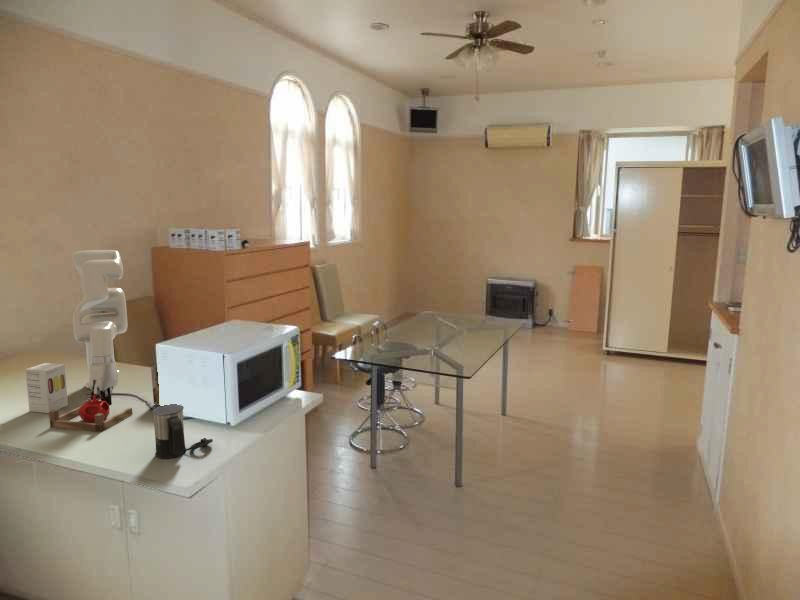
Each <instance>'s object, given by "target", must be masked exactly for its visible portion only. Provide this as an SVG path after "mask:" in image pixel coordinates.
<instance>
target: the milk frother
mask: <svg viewBox="0 0 800 600" xmlns="http://www.w3.org/2000/svg"><path fill="white" fill-rule="evenodd" d="M183 409H184V406H183V405H182V404H180V405H177V404H170V405H164V406H156V407H155V408H153V409H152V411H151V412H152V413H153V426H154V438H155V453H154V454H155V457H156V458H159V459H173V458H178V457H180V456H182V455H184V454H185V453H186V452H187V451H191V450H194V449H197V448H198V449H199V448H202V447H203V448H204V447H207V446H208V445H209V444H211V443H213V442H214V440H213V438H209V439H208V438H207V437H204V438H203V437H202V439H200V441H198V442H196V443H193V444H192V445H191V446H189V447H186V443H185V442H186V441H185V428H184V427H185V426H184V410H183Z"/></svg>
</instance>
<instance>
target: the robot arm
mask: <svg viewBox="0 0 800 600" xmlns="http://www.w3.org/2000/svg"><path fill="white" fill-rule="evenodd" d="M72 264H73V266H74V268H75V269H76V271H77V274H78V275H79V277H80V279H81V280H80V281H81V288H82V289H81V290H82V298H83V299H82V300H81V301H80V302H79V303H78V304H77V305H76V307H75V309H74V310H73V311H74V312H73V314H72V327H73V337H74V339H75V341H76V342H78V343H80V344H85V350H86V351H85V352H86V354H85V355H86V363H87V365H86V366H87V375H88V381H86V382H85V384H84V387H85V388H87V389H90V390H91V391H93V394H94V395H96V396H97V395H98V396H99V397H100V398H101V399H100V401H106V402H107V403H108V404H109V407H110V406H112V405H113V404H112V402H113V401H112V394H113V389H114V388H115V387H117V384H118V382H119V381H118V380H119V374H121V373H120V370H118V369H117V363H116V360H115V352H114V350H115V349H114V339H115V337H116V336H117V335H121V334H124V333H126V332H127V330H128V312H127V299H126V293H125V291H124V290H123V289H122V288H120V287H109V286H108V285H109V284H108V281H119V280H121V279H122V278H123V277H124V266H123V261H122V257H121V254H120V252H119V250H115V249H87V250H86V249H85V250H78V251H76V252H73V254H72ZM86 311H89V312H100V313H91V314H87V315H85V316H83V314H84V313H85V312H86ZM101 311H103V312H102V313H101ZM104 311H114V312H104ZM82 316H83V318H82Z"/></svg>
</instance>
